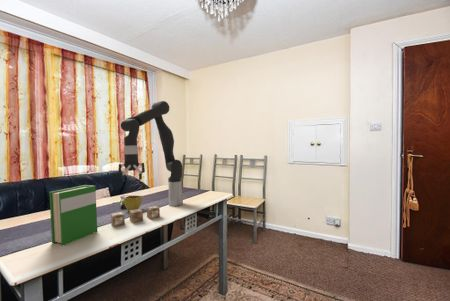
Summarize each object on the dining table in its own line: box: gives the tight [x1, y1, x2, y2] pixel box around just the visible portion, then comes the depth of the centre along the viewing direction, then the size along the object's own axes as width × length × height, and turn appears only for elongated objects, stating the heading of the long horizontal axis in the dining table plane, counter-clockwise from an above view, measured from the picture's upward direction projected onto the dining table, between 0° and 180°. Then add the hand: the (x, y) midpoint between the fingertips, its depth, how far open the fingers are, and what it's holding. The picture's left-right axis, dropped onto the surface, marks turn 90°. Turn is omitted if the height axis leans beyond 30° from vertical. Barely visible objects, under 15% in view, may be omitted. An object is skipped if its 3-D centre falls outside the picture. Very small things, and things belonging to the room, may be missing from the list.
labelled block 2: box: [146, 205, 161, 220], centre depth 139 cm, size 6×6×6 cm
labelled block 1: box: [110, 211, 126, 228], centre depth 128 cm, size 6×6×6 cm
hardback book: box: [48, 184, 98, 246], centre depth 111 cm, size 18×7×24 cm, turn 159°
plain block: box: [129, 208, 144, 224], centre depth 134 cm, size 6×6×6 cm
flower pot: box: [123, 195, 143, 212], centre depth 156 cm, size 9×9×9 cm
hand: (132, 180), depth 134 cm, fingers open, 8 cm apart
